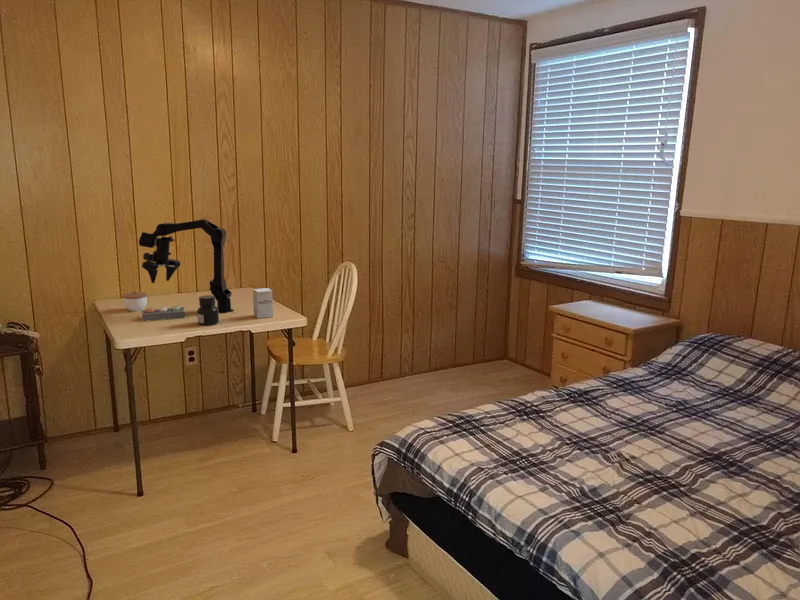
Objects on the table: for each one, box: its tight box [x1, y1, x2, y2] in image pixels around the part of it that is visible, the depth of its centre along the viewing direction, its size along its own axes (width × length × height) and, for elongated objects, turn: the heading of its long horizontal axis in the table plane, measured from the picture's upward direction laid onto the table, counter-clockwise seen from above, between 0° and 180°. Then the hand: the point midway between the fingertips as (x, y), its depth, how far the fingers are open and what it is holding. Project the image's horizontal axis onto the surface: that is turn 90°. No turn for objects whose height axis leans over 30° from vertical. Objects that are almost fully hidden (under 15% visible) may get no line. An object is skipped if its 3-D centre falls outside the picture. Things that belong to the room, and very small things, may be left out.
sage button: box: [171, 305, 181, 311], centre depth 282 cm, size 4×4×2 cm
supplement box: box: [252, 287, 274, 319], centre depth 283 cm, size 7×7×13 cm
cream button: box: [158, 306, 168, 312], centre depth 280 cm, size 4×4×2 cm
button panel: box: [141, 306, 186, 322], centre depth 281 cm, size 18×9×3 cm, turn 111°
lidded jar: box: [122, 290, 148, 312], centre depth 293 cm, size 11×11×9 cm
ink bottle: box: [196, 294, 220, 326], centre depth 270 cm, size 10×9×12 cm
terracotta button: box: [145, 307, 156, 313], centre depth 278 cm, size 4×4×2 cm
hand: (160, 281), depth 290 cm, fingers open, 9 cm apart
